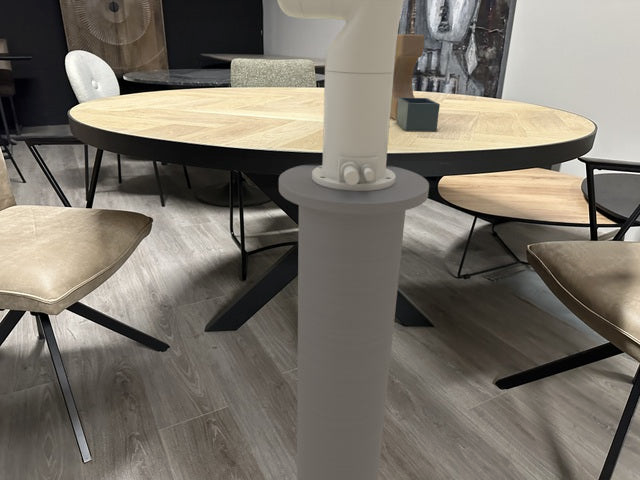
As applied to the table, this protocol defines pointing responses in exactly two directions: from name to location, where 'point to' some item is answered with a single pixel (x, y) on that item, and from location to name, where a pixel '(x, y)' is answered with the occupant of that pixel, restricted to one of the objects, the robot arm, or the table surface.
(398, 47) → the decorative block
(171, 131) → the table surface
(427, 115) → the box
